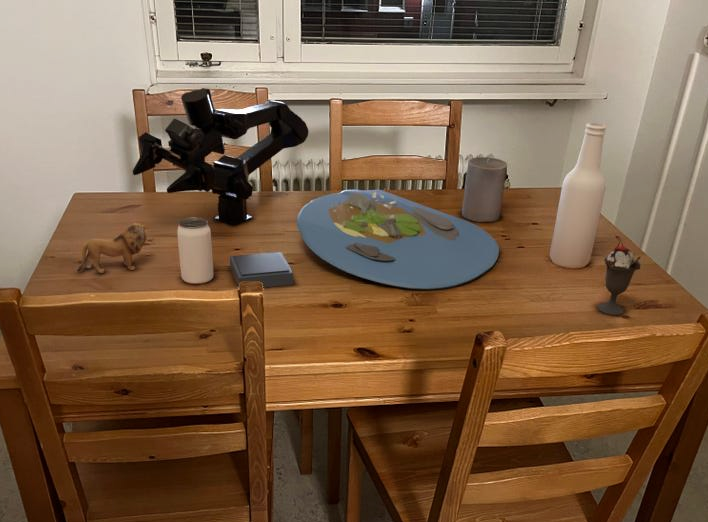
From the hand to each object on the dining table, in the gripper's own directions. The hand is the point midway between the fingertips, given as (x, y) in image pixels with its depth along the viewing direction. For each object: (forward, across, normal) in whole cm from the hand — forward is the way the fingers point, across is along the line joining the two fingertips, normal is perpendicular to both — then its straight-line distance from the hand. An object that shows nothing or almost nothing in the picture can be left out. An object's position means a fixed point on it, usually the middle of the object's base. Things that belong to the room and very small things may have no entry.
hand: (150, 182), depth 153 cm
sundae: (-27, +93, +2) cm, 97 cm away
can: (+9, +19, +9) cm, 23 cm away
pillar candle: (-58, +54, +22) cm, 82 cm away
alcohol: (-44, +80, +11) cm, 92 cm away
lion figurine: (+15, +2, +12) cm, 19 cm away
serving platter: (-28, +46, +14) cm, 55 cm away
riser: (+1, +29, +9) cm, 30 cm away
